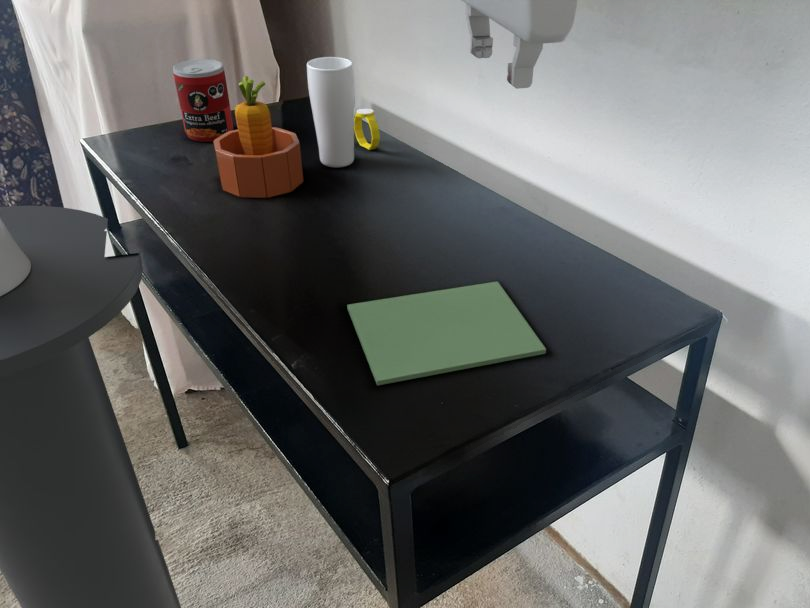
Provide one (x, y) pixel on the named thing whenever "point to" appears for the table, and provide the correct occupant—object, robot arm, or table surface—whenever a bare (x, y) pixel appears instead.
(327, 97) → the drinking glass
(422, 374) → the mat
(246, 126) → the carrot
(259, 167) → the pot
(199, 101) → the canned food
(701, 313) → the table surface
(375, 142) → the watch
